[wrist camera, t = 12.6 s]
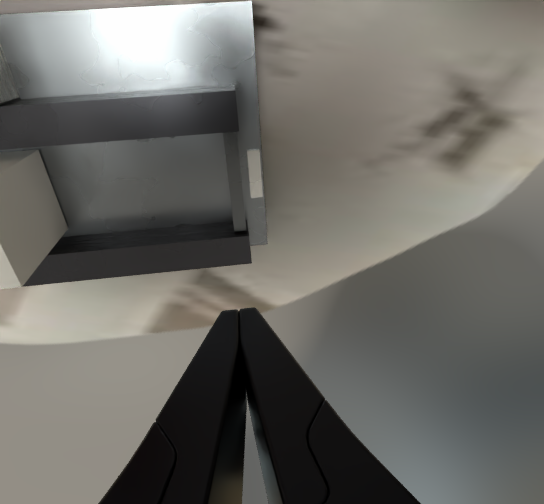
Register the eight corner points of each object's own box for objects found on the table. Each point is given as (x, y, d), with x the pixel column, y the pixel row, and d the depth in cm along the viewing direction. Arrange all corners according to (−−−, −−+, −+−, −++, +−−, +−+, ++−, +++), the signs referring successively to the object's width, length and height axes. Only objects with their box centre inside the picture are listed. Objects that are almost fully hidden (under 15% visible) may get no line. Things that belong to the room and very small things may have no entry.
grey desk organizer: (249, 2, 16) (263, -13, 10) (265, 233, 22) (279, 304, 16) (-153, 24, 15) (-382, 20, 9) (-22, 261, 20) (-113, 347, 15)
